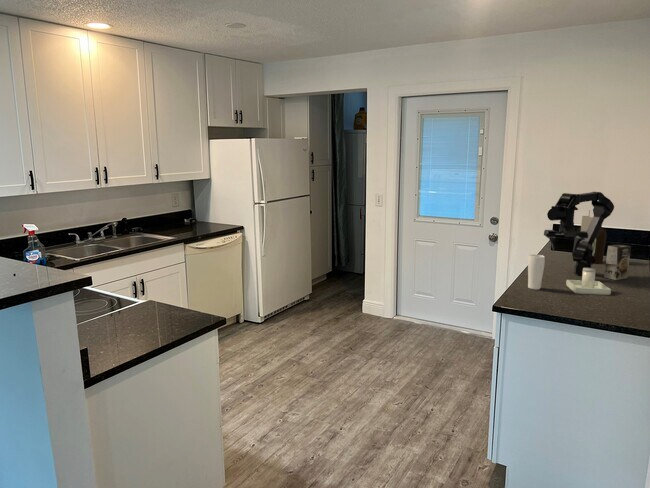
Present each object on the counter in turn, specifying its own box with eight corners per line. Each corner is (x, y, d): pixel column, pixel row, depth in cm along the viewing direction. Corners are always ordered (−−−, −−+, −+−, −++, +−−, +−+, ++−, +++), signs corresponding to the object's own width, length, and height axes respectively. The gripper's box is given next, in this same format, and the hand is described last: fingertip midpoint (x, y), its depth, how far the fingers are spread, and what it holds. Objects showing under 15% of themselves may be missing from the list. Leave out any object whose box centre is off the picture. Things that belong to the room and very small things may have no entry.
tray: (598, 286, 228) (599, 281, 227) (610, 295, 214) (610, 289, 214) (566, 285, 230) (566, 279, 230) (575, 293, 217) (576, 287, 216)
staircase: (599, 253, 306) (604, 211, 301) (578, 251, 311) (582, 210, 307) (599, 250, 312) (604, 210, 308) (579, 249, 318) (583, 209, 313)
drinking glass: (541, 287, 226) (544, 254, 224) (542, 291, 220) (545, 257, 217) (525, 285, 228) (528, 253, 226) (526, 289, 222) (529, 256, 219)
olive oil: (591, 259, 285) (595, 216, 281) (608, 263, 276) (613, 218, 271) (577, 261, 281) (582, 217, 276) (594, 264, 271) (599, 219, 267)
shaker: (587, 286, 225) (589, 267, 224) (596, 289, 220) (598, 269, 219) (578, 287, 224) (580, 267, 222) (587, 290, 219) (589, 270, 218)
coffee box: (616, 280, 239) (620, 247, 236) (603, 277, 244) (607, 245, 241) (627, 278, 243) (631, 246, 240) (615, 275, 249) (618, 243, 246)
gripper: (550, 221, 233) (547, 253, 236) (593, 222, 230) (590, 255, 232) (544, 218, 244) (542, 249, 246) (585, 219, 240) (582, 250, 243)
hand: (564, 251), depth 242 cm, fingers open, 9 cm apart
